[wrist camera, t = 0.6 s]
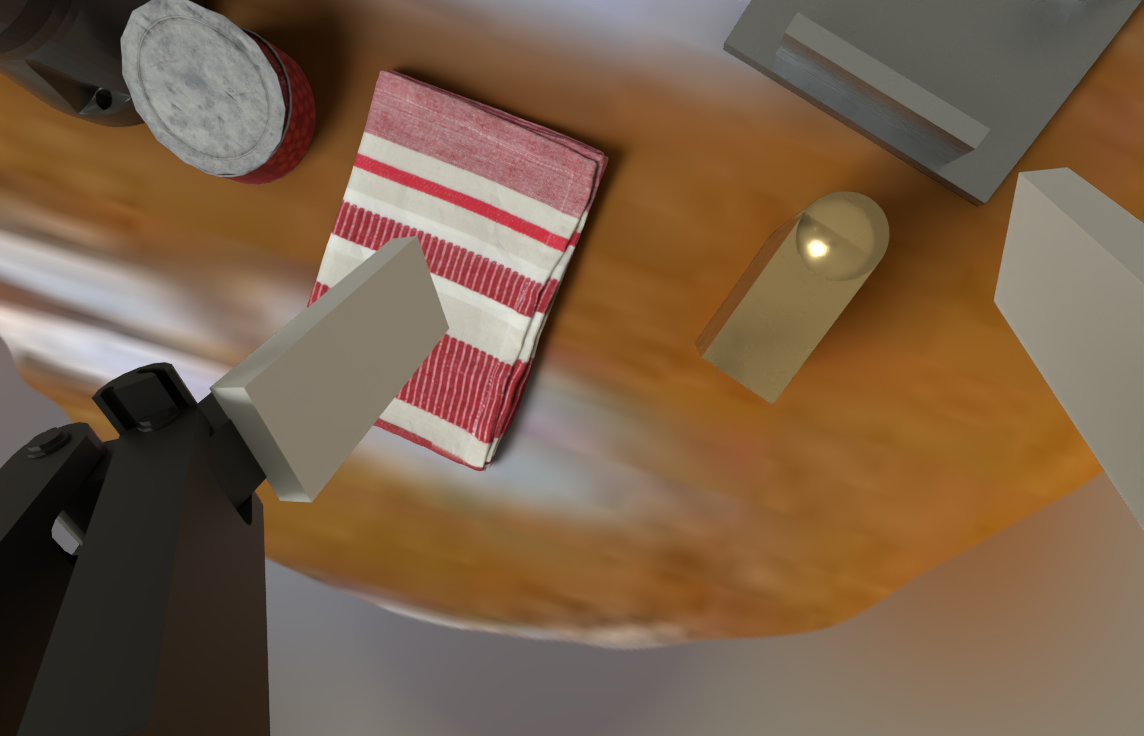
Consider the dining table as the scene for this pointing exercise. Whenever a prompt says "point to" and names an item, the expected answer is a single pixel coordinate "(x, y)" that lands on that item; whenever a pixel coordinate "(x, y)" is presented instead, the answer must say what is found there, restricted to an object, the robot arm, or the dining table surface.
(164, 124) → the canned food
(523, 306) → the dish towel
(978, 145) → the steel base leaf
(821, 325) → the tan block
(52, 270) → the dining table surface
